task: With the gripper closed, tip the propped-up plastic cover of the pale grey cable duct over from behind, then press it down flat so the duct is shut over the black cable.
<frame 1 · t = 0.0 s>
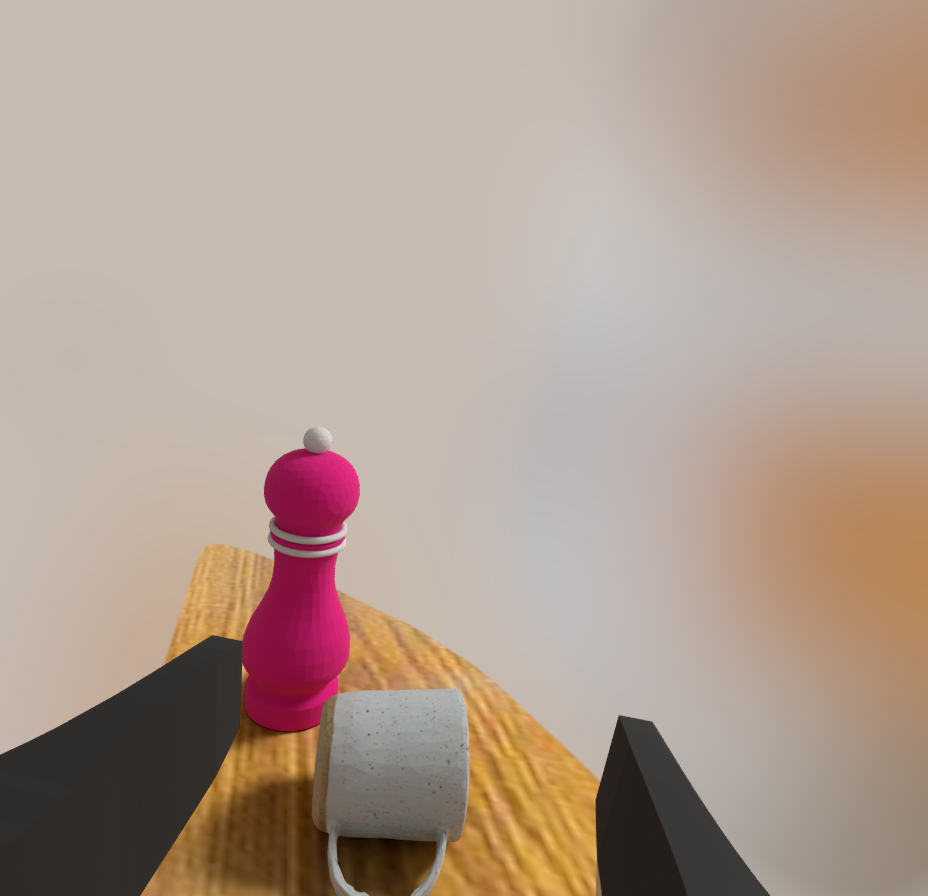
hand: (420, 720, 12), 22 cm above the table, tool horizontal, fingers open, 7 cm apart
ceramic mug: (387, 838, 36), on the table
pepper mill: (290, 704, 45), on the table
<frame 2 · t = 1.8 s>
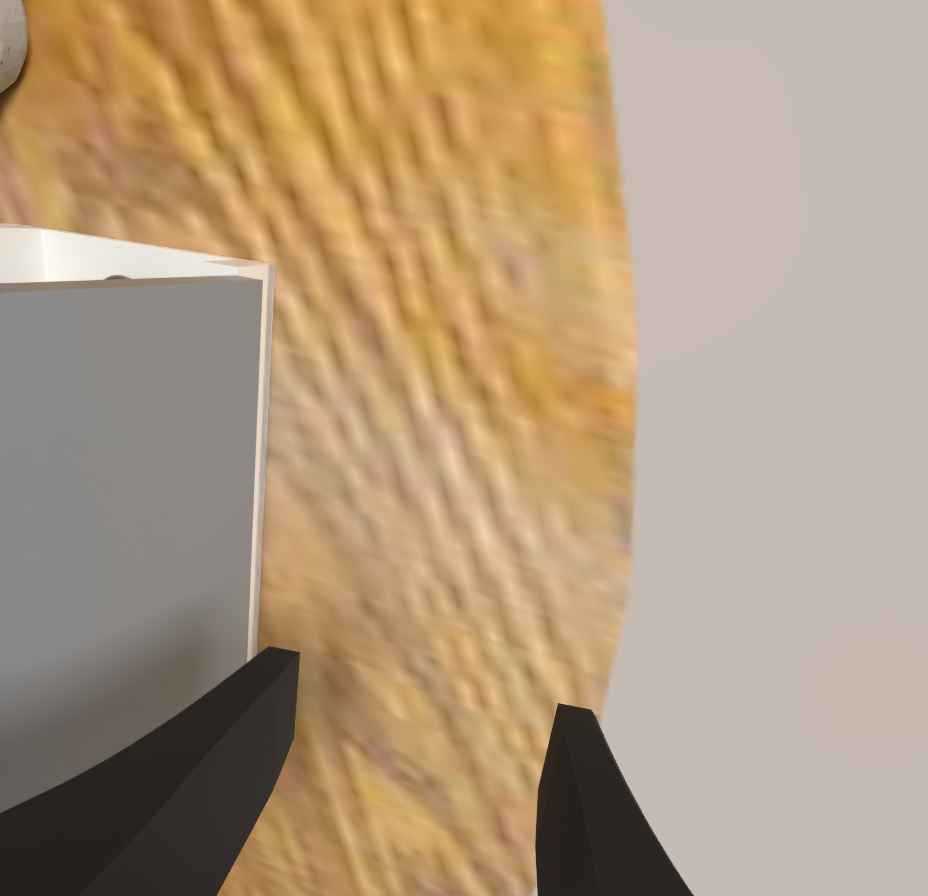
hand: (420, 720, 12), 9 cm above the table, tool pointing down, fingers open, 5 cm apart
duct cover: (139, 576, 15), point 7 cm above the table, hinge at 80.0°
cable duct: (150, 459, 22), on the table
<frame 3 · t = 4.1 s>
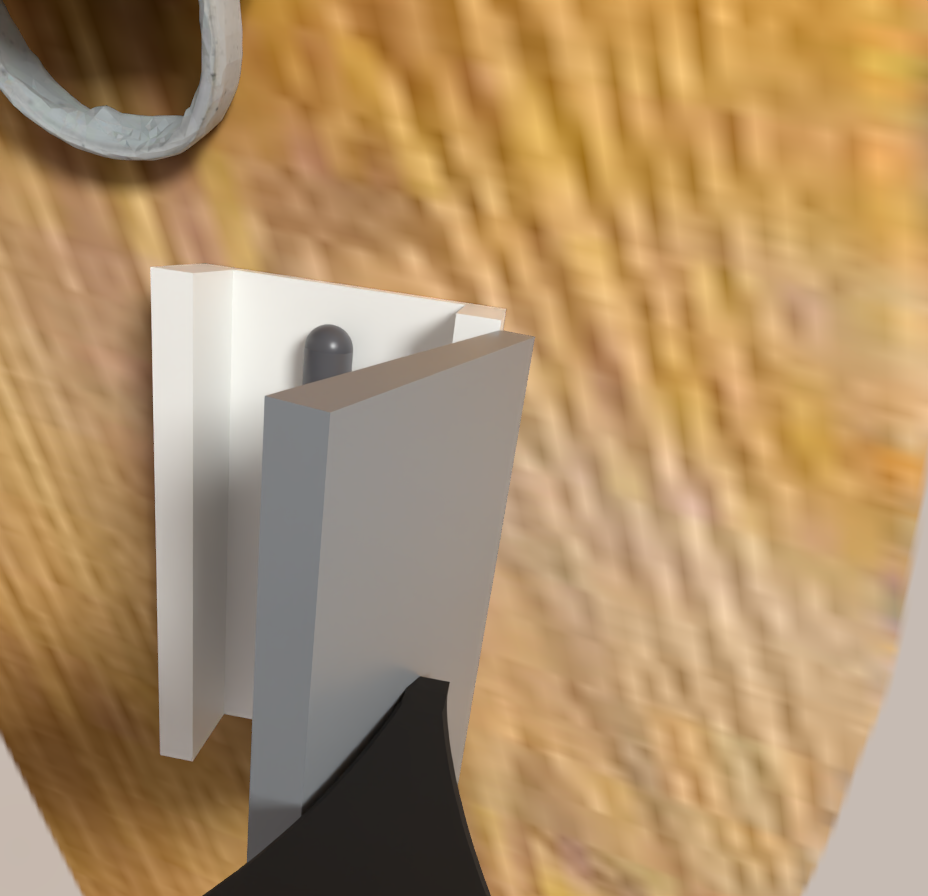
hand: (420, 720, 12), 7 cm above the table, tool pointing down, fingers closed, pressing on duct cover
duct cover: (401, 702, 12), point 7 cm above the table, hinge at 74.9°, touching gripper
cable duct: (334, 528, 19), on the table
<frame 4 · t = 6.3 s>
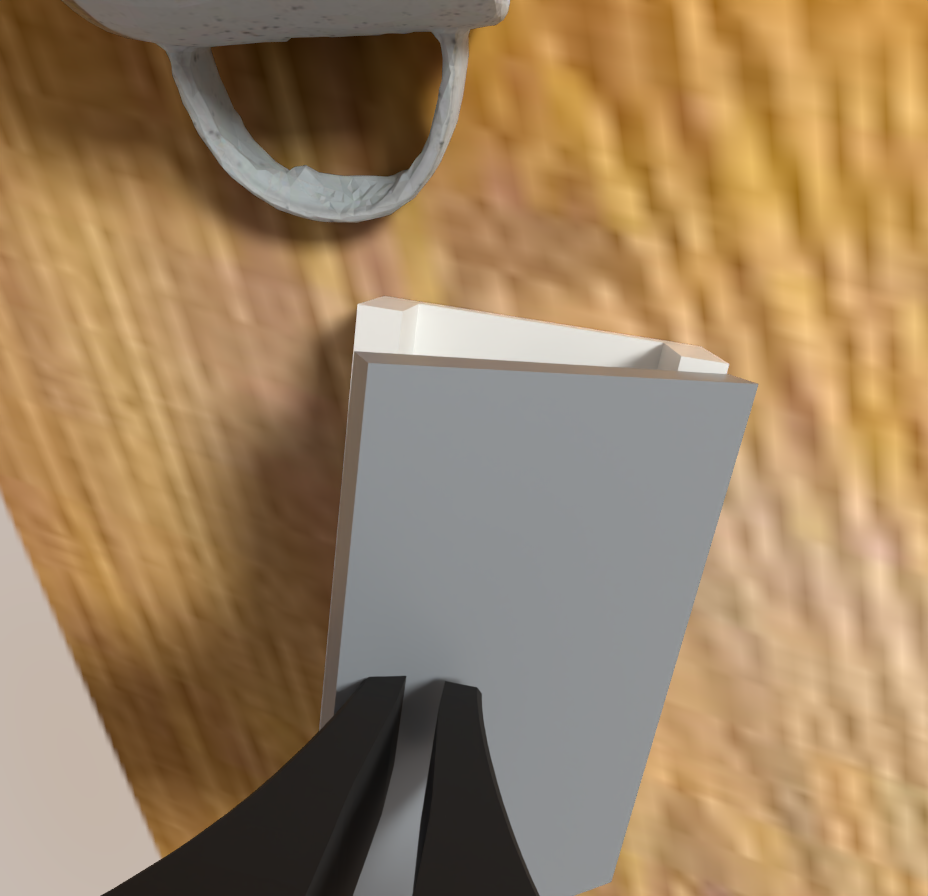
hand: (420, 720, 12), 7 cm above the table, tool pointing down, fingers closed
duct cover: (516, 685, 13), point 5 cm above the table, hinge at 30.4°, touching gripper
cable duct: (495, 566, 18), on the table
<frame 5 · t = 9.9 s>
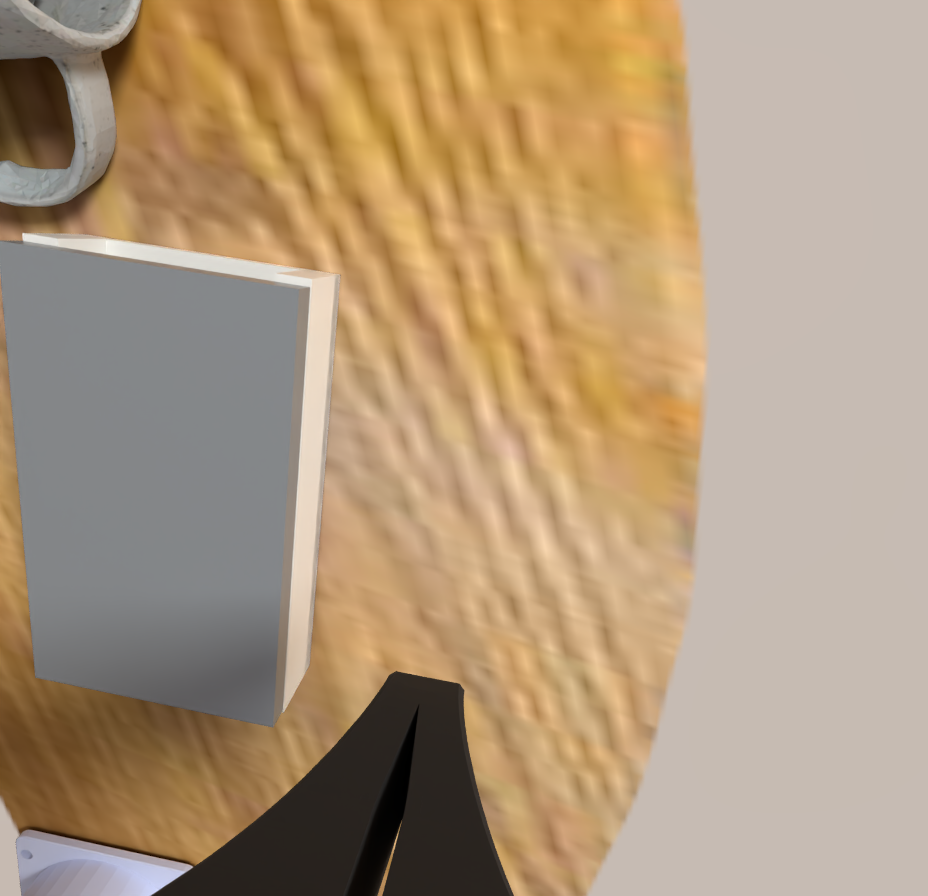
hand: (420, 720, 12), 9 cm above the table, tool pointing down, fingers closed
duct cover: (157, 503, 19), point 3 cm above the table, hinge at -0.4°
cable duct: (207, 469, 21), on the table
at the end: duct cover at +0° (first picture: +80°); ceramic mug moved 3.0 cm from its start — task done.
